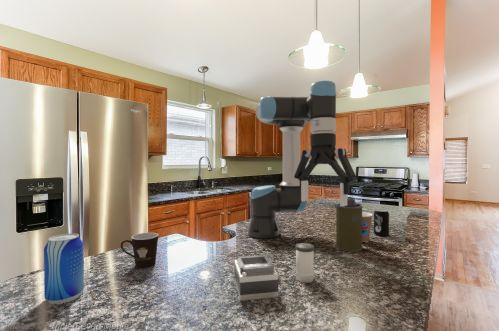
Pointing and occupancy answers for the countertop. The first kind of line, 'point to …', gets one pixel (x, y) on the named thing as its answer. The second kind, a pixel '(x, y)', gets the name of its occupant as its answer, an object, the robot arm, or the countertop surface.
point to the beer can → (63, 268)
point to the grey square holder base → (255, 277)
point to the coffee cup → (366, 226)
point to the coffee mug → (143, 249)
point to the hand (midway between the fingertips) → (323, 203)
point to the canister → (349, 226)
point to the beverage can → (381, 222)
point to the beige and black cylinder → (304, 262)
